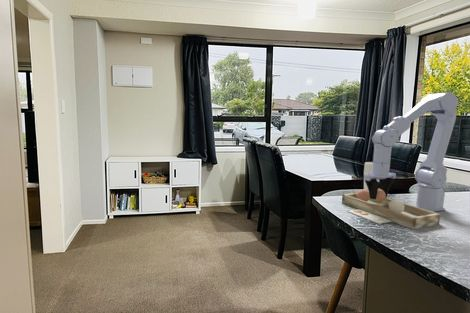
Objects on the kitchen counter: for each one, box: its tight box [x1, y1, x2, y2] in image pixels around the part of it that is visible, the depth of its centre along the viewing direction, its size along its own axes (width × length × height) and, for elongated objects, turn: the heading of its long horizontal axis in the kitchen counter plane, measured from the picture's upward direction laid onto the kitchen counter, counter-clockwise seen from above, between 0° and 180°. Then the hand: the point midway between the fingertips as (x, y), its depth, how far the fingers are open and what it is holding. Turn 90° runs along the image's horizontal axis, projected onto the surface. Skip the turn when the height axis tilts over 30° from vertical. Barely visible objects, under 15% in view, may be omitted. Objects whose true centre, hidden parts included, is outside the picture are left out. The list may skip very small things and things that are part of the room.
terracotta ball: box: [373, 188, 387, 202], centre depth 121 cm, size 5×5×5 cm
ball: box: [356, 189, 370, 202], centre depth 128 cm, size 5×5×5 cm
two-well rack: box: [341, 192, 441, 230], centre depth 118 cm, size 13×31×4 cm, turn 26°
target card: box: [347, 208, 393, 225], centre depth 113 cm, size 6×14×1 cm, turn 26°
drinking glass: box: [363, 161, 379, 192], centre depth 138 cm, size 7×7×15 cm
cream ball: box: [389, 198, 405, 213], centre depth 114 cm, size 5×5×5 cm
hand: (378, 198), depth 121 cm, fingers closed on terracotta ball, 5 cm apart
